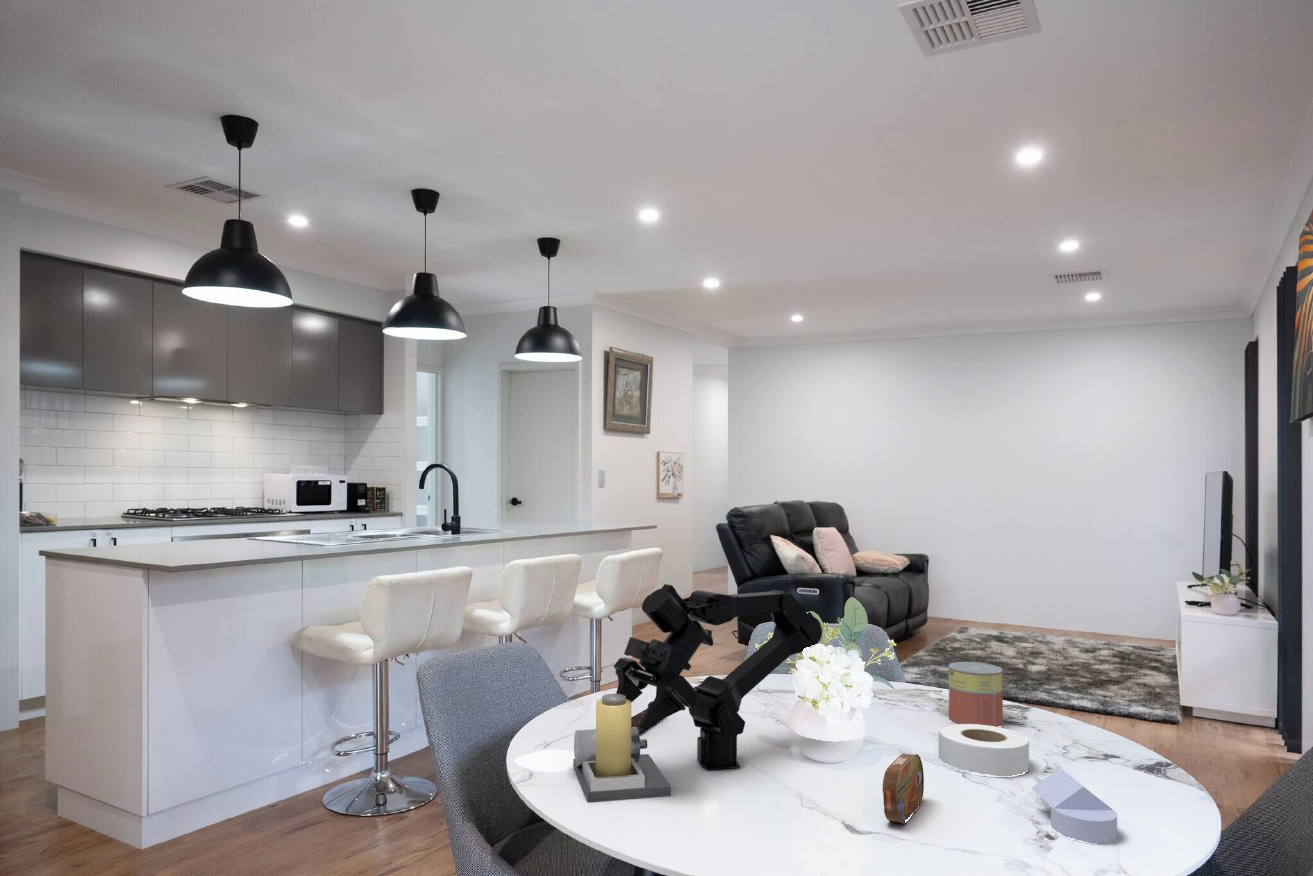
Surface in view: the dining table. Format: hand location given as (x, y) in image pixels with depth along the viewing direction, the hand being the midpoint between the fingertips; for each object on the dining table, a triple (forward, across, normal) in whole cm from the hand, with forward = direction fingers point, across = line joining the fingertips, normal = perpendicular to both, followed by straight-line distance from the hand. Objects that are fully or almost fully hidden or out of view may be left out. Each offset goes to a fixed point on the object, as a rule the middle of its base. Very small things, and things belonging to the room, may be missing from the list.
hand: (626, 721), depth 146 cm
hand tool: (-7, -27, +24) cm, 36 cm away
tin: (-13, +34, +30) cm, 47 cm away
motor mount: (+7, -3, +8) cm, 11 cm away
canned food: (-52, +10, +69) cm, 87 cm away
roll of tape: (-36, +27, +53) cm, 69 cm away
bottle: (+8, 0, +5) cm, 10 cm away
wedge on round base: (-26, +52, +43) cm, 73 cm away
